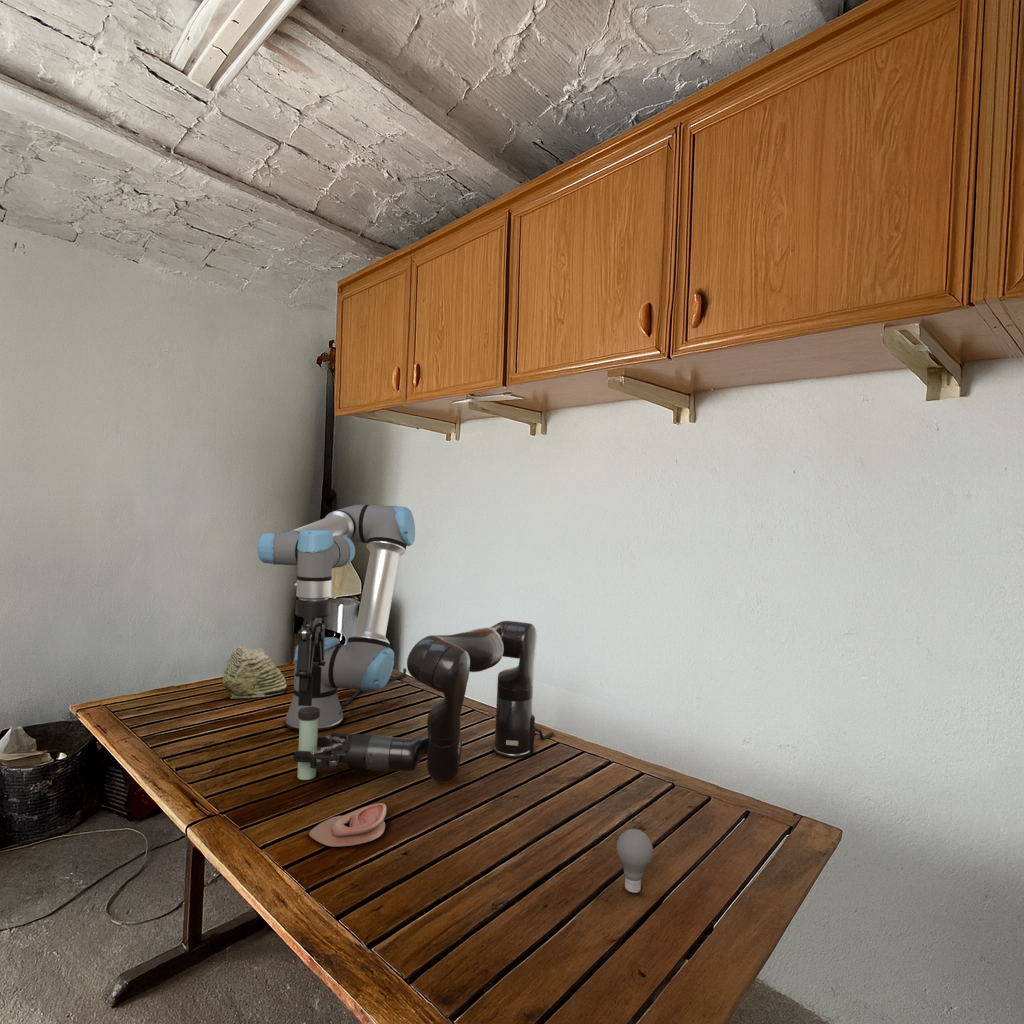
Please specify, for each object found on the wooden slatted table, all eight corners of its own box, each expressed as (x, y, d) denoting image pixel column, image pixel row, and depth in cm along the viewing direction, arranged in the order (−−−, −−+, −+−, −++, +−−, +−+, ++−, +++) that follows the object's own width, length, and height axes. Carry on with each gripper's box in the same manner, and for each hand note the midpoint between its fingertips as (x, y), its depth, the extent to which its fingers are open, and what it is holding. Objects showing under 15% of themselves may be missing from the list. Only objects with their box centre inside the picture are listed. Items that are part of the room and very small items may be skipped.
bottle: (305, 781, 140) (307, 716, 140) (293, 776, 143) (296, 712, 142) (319, 775, 144) (322, 711, 143) (308, 770, 146) (310, 707, 146)
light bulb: (610, 879, 108) (613, 822, 108) (644, 879, 109) (647, 822, 109) (619, 902, 102) (622, 840, 102) (655, 901, 103) (658, 840, 103)
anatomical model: (301, 820, 116) (331, 792, 127) (300, 842, 116) (330, 812, 127) (368, 831, 113) (393, 801, 124) (368, 853, 113) (392, 821, 124)
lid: (307, 722, 140) (307, 715, 140) (293, 717, 142) (293, 710, 142) (324, 716, 144) (324, 709, 144) (310, 712, 146) (310, 705, 146)
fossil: (218, 695, 195) (220, 647, 195) (278, 685, 208) (279, 640, 207) (228, 703, 189) (230, 653, 188) (289, 692, 201) (290, 645, 201)
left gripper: (308, 591, 152) (305, 686, 153) (282, 605, 132) (278, 714, 133) (340, 592, 152) (336, 687, 153) (318, 606, 133) (314, 715, 133)
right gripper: (380, 724, 149) (313, 721, 150) (364, 748, 135) (289, 744, 136) (379, 756, 150) (311, 752, 150) (363, 783, 135) (288, 778, 136)
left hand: (309, 699), depth 143 cm, fingers open, 7 cm apart
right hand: (301, 748), depth 143 cm, fingers open, 8 cm apart
